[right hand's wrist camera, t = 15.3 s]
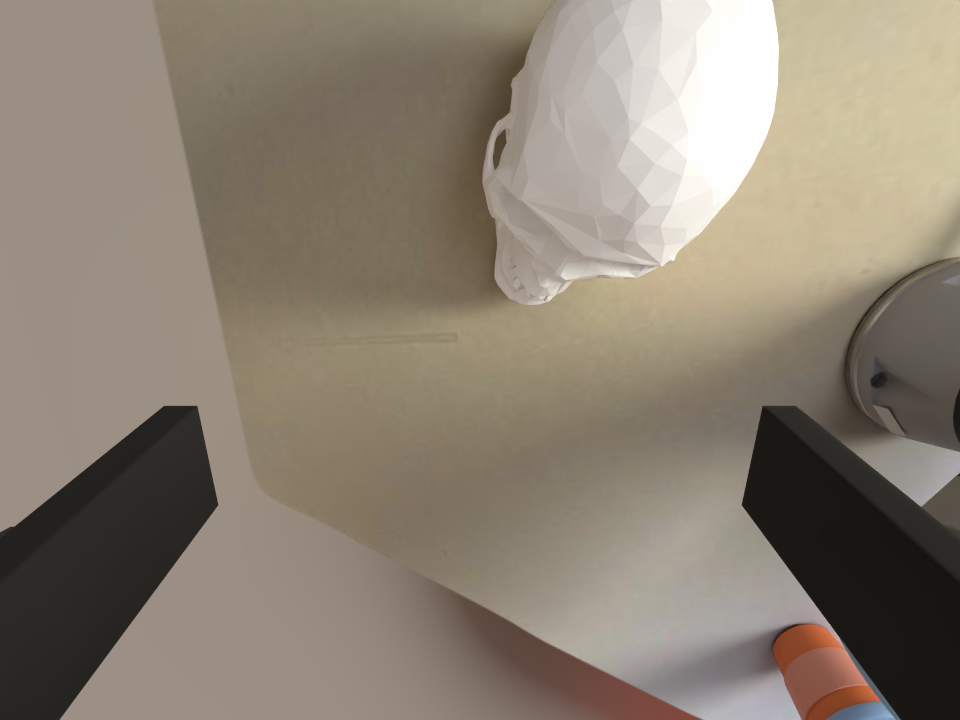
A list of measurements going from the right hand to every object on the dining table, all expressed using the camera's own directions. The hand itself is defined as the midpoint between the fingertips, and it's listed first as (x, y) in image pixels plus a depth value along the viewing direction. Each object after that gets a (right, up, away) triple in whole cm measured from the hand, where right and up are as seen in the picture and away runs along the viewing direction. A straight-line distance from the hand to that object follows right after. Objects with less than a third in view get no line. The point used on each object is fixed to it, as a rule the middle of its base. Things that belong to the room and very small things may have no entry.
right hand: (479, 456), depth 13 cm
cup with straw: (+34, -28, +44) cm, 62 cm away
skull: (+7, +17, +26) cm, 32 cm away
